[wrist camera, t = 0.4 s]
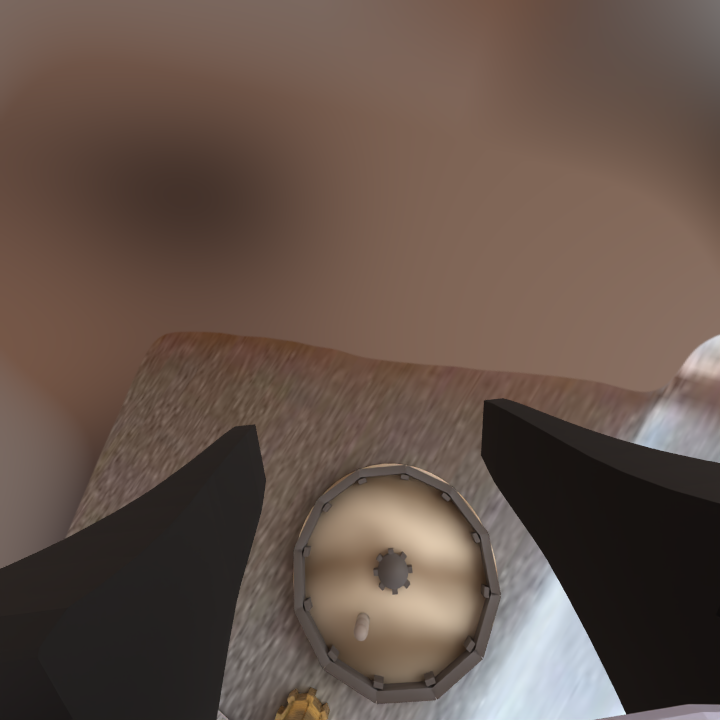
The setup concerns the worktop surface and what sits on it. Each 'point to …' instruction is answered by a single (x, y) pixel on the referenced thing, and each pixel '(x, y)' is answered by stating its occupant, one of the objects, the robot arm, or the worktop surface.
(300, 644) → the worktop surface
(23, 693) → the robot arm
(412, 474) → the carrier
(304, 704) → the planet gear
